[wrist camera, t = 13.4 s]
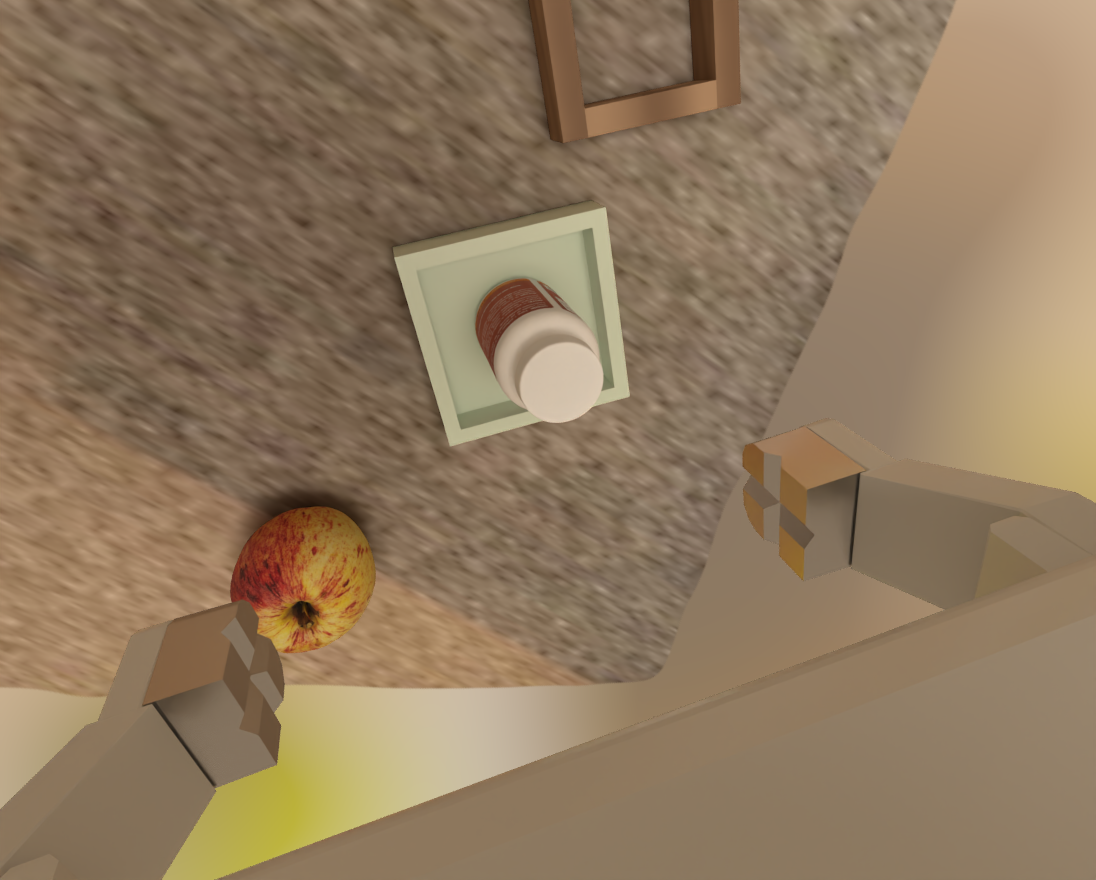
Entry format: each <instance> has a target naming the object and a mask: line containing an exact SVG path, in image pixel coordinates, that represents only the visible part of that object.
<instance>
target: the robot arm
mask: <svg viewBox="0 0 1096 880" xmlns="http://www.w3.org/2000/svg"><path fill="white" fill-rule="evenodd" d="M743 467H744V468H745V469H746V470H747V471H748V472H749V473H750V474H751V476H750V477H749V479H748V481H747V483H746V484H745V486H744V488H743V496H744V506H745V509H746V512H747V515H748V518H749V520H750V522H751V524H752V525H753V527H754V529H755V530H756V532H757V533H758V534H759V535H760V536H761V537H762V538H763V539H764V540H767V541H770V542H773V543H776V544H779V556H780V557H781V558H782V560H783V561H785V563H786V564H787V565H788V566H789V567H790V568H791V569H792V570H793V571H794V572H795V573H796V574H797V575H798V576H799V577H800V578H801V580H803V581H806V580H809V579H813V578H816V577H819V576H822V575H825V574H828V573H831V572H835V571H838V570H841V569H844V568H847V567H850V566H851V569H854V570H855V571H858V572H860V573H862V574H865V575H867V576H869V577H871V578H874V579H876V580H878V581H881V582H883V583H885V584H887V585H890V586H892V587H895V588H897V589H899V590H901V591H904V592H906V593H908V594H910V595H913V596H915V597H918V598H920V599H922V600H924V601H927V602H929V603H931V604H934V605H936V606H938V607H940V608H943V609H945V610H943V611H940V612H938V613H935V614H932V615H930V616H927V617H925V618H922V619H919V620H917V621H914V622H911V623H908V624H906V625H903V626H900V627H897V628H895V629H892V630H889V631H887V632H884V633H881V634H879V635H876V636H873V637H871V638H868V639H865V640H863V641H860V642H857V643H855V644H852V645H849V646H846V647H844V648H841V649H838V650H836V651H833V652H830V653H827V654H824V655H822V656H819V657H816V658H814V659H811V660H808V661H806V662H803V663H800V664H797V665H795V666H792V667H789V668H787V669H784V670H781V671H778V672H776V673H773V674H770V675H767V676H765V677H762V678H759V679H757V680H754V681H751V682H748V683H746V684H743V685H740V686H738V687H735V688H732V689H729V690H727V691H724V692H721V693H718V694H716V695H713V696H710V697H708V698H705V699H702V700H699V701H697V702H694V703H691V704H688V705H686V706H683V707H680V708H678V709H675V710H672V711H670V712H667V713H664V714H662V715H659V716H656V717H653V718H651V719H648V720H645V721H643V722H640V723H637V724H634V725H632V726H629V727H626V728H624V729H621V730H618V731H616V732H613V733H611V734H608V735H605V736H602V737H599V738H597V739H594V740H591V741H589V742H586V743H583V744H580V745H578V746H575V747H573V748H570V749H567V750H564V751H562V752H559V753H556V754H553V755H551V756H548V757H545V758H543V759H540V760H537V761H534V762H532V763H529V764H526V765H524V766H521V767H518V768H516V769H513V770H510V771H507V772H505V773H502V774H499V775H497V776H494V777H491V778H489V779H486V780H483V781H480V782H478V783H475V784H472V785H470V786H467V787H464V788H462V789H459V790H456V791H453V792H451V793H448V794H445V795H443V796H440V797H437V798H434V799H432V800H429V801H426V802H424V803H421V804H418V805H416V806H413V807H410V808H407V809H405V810H402V811H399V812H397V813H394V814H391V815H388V816H386V817H383V818H380V819H378V820H375V821H372V822H370V823H367V824H364V825H361V826H359V827H356V828H354V829H351V830H348V831H345V832H342V833H340V834H337V835H334V836H332V837H329V838H326V839H324V840H321V841H318V842H315V843H313V844H310V845H307V846H305V847H302V848H299V849H296V850H294V851H291V852H289V853H286V854H283V855H280V856H278V857H275V858H272V859H269V860H267V861H264V862H261V863H259V864H256V865H253V866H250V867H248V868H245V869H243V870H240V871H237V872H235V873H232V874H229V875H226V876H224V877H221V878H218V879H216V880H1096V503H1094V502H1093V501H1091V500H1089V499H1087V498H1085V497H1083V496H1082V495H1080V494H1078V493H1076V492H1071V491H1066V490H1061V489H1056V488H1051V487H1046V486H1041V485H1036V484H1031V483H1026V482H1021V481H1015V480H1011V479H1006V478H1000V477H996V476H991V475H985V474H981V473H976V472H970V471H966V470H961V469H955V468H950V467H946V466H940V465H935V464H930V463H925V462H920V461H915V460H910V459H903V460H900V461H896V460H895V459H893V458H892V457H890V456H889V455H887V454H886V453H884V452H882V451H881V450H880V449H878V448H877V447H875V446H874V445H872V444H871V443H869V442H868V441H866V440H865V439H863V438H862V437H860V436H859V435H857V434H856V433H854V432H853V431H851V430H850V429H848V428H847V427H845V426H844V425H842V424H841V423H839V422H838V421H836V420H834V419H829V418H825V419H822V420H819V421H816V422H813V423H810V424H807V425H804V426H801V427H799V428H798V429H795V430H792V431H789V432H785V433H782V434H779V435H776V436H773V437H770V438H766V439H763V440H760V441H757V442H754V443H751V444H747V445H745V448H744V451H743ZM258 623H259V617H258V615H257V614H256V612H255V610H254V609H253V607H252V605H251V604H250V602H247V601H245V600H239V601H236V602H232V603H229V604H225V605H222V606H218V607H215V608H211V609H208V610H204V611H201V612H197V613H194V614H190V615H187V616H183V617H180V618H176V619H174V620H171V621H167V622H163V623H160V624H157V625H153V626H150V627H147V628H144V629H140V630H138V631H137V632H136V633H134V634H133V635H132V636H131V638H130V640H129V642H128V645H127V647H126V650H125V653H124V655H123V658H122V660H121V663H120V665H119V668H118V670H117V673H116V676H115V678H114V681H113V683H112V686H111V688H110V691H109V694H108V696H107V699H106V701H105V704H104V707H103V709H102V712H101V714H100V717H99V719H98V721H97V722H94V723H91V724H88V725H86V726H85V727H84V728H83V729H82V730H81V731H80V732H79V733H77V734H76V736H75V737H73V738H72V739H71V740H70V741H69V742H68V743H67V745H65V746H64V747H63V748H62V749H61V750H60V751H59V752H58V753H57V754H56V755H55V756H54V757H53V758H52V759H51V760H50V761H49V762H48V763H47V764H46V765H45V766H44V767H43V768H42V769H41V770H40V771H39V772H38V773H37V774H36V775H35V776H34V777H33V778H32V779H31V780H30V781H29V782H28V783H27V784H26V785H25V786H24V787H23V788H22V789H21V790H20V791H18V792H17V794H16V795H14V796H13V797H12V798H11V800H9V801H8V802H7V803H6V804H5V805H4V806H3V807H2V808H1V809H0V880H162V878H163V876H164V875H165V873H166V871H167V870H168V868H169V867H170V865H171V864H172V862H173V860H174V859H175V857H176V855H177V854H178V852H179V850H180V849H181V847H182V846H183V844H184V843H185V841H186V839H187V838H188V836H189V834H190V833H191V831H192V830H193V828H194V826H195V824H196V823H197V821H198V820H199V818H200V817H201V815H202V813H203V812H204V810H205V809H206V807H207V805H208V804H209V802H210V800H211V799H212V797H213V795H214V794H215V792H216V790H215V788H217V787H219V786H222V785H225V784H227V783H230V782H233V781H235V780H238V779H241V778H243V777H246V776H249V775H251V774H254V773H256V772H259V771H262V770H264V769H267V768H270V767H272V766H275V765H277V760H278V749H279V740H280V730H281V724H280V723H279V721H278V719H277V717H276V716H275V714H274V712H275V711H276V709H277V708H278V707H279V705H280V704H281V702H282V701H283V698H284V677H283V669H282V664H281V661H280V658H279V655H278V652H277V650H276V648H275V646H274V644H273V642H272V640H271V639H269V638H267V637H265V636H263V635H260V634H258V633H257V630H258Z"/></svg>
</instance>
